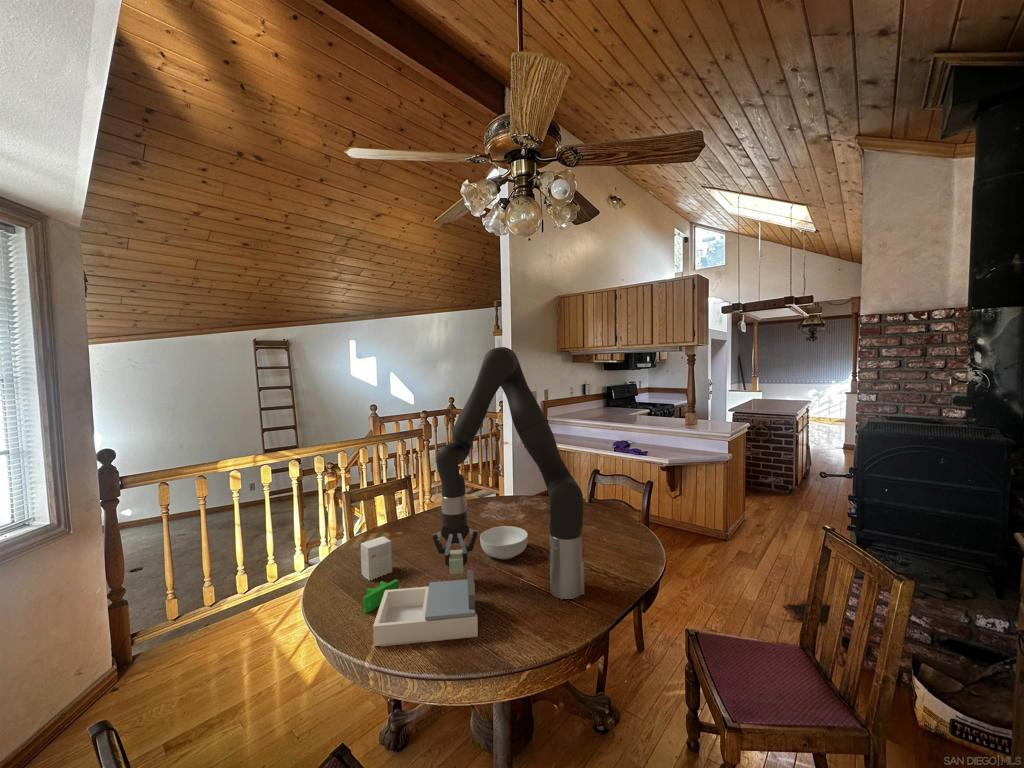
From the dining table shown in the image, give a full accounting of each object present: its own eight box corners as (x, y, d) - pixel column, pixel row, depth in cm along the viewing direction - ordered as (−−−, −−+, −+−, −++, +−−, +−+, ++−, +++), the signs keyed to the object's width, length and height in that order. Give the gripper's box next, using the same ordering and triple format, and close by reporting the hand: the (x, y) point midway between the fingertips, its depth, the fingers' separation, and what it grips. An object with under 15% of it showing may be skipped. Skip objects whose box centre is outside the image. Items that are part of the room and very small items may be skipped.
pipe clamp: (390, 591, 121) (390, 576, 121) (398, 595, 119) (398, 580, 119) (357, 610, 112) (356, 593, 112) (365, 614, 110) (365, 597, 110)
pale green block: (463, 561, 127) (462, 549, 127) (463, 573, 121) (462, 559, 120) (450, 563, 127) (449, 550, 127) (449, 574, 120) (449, 560, 120)
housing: (474, 599, 116) (474, 582, 115) (477, 636, 100) (477, 616, 99) (385, 608, 112) (384, 590, 112) (373, 647, 96) (373, 626, 96)
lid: (472, 581, 115) (472, 566, 115) (475, 615, 99) (474, 598, 99) (429, 585, 114) (429, 570, 114) (425, 620, 98) (424, 602, 98)
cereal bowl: (505, 540, 156) (505, 521, 155) (538, 553, 144) (537, 534, 144) (470, 554, 144) (470, 535, 144) (502, 571, 132) (502, 549, 132)
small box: (384, 566, 136) (383, 535, 136) (392, 572, 132) (391, 540, 132) (361, 575, 130) (360, 543, 130) (368, 581, 126) (367, 548, 126)
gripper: (477, 503, 128) (479, 557, 128) (431, 506, 126) (433, 561, 127) (478, 511, 120) (480, 568, 121) (429, 515, 119) (431, 573, 119)
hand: (456, 564), depth 124 cm, fingers closed on pale green block, 4 cm apart
